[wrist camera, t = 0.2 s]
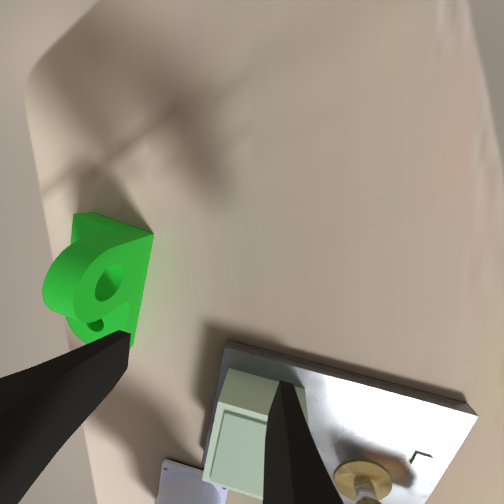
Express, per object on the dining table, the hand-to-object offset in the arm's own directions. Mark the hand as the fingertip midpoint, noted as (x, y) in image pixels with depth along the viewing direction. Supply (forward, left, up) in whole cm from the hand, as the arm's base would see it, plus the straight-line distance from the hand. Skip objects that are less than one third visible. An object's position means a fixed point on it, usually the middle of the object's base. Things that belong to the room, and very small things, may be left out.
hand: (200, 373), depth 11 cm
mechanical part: (-3, +12, -10) cm, 16 cm away
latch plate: (-13, -11, -10) cm, 20 cm away
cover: (-12, -4, -9) cm, 15 cm away
